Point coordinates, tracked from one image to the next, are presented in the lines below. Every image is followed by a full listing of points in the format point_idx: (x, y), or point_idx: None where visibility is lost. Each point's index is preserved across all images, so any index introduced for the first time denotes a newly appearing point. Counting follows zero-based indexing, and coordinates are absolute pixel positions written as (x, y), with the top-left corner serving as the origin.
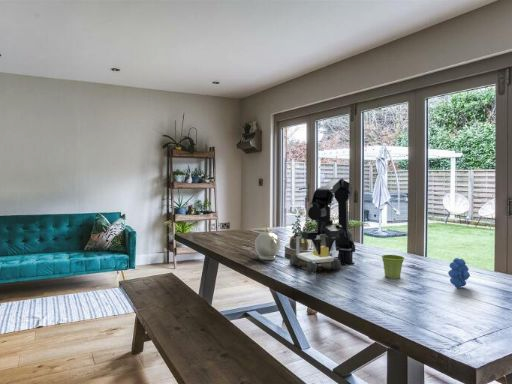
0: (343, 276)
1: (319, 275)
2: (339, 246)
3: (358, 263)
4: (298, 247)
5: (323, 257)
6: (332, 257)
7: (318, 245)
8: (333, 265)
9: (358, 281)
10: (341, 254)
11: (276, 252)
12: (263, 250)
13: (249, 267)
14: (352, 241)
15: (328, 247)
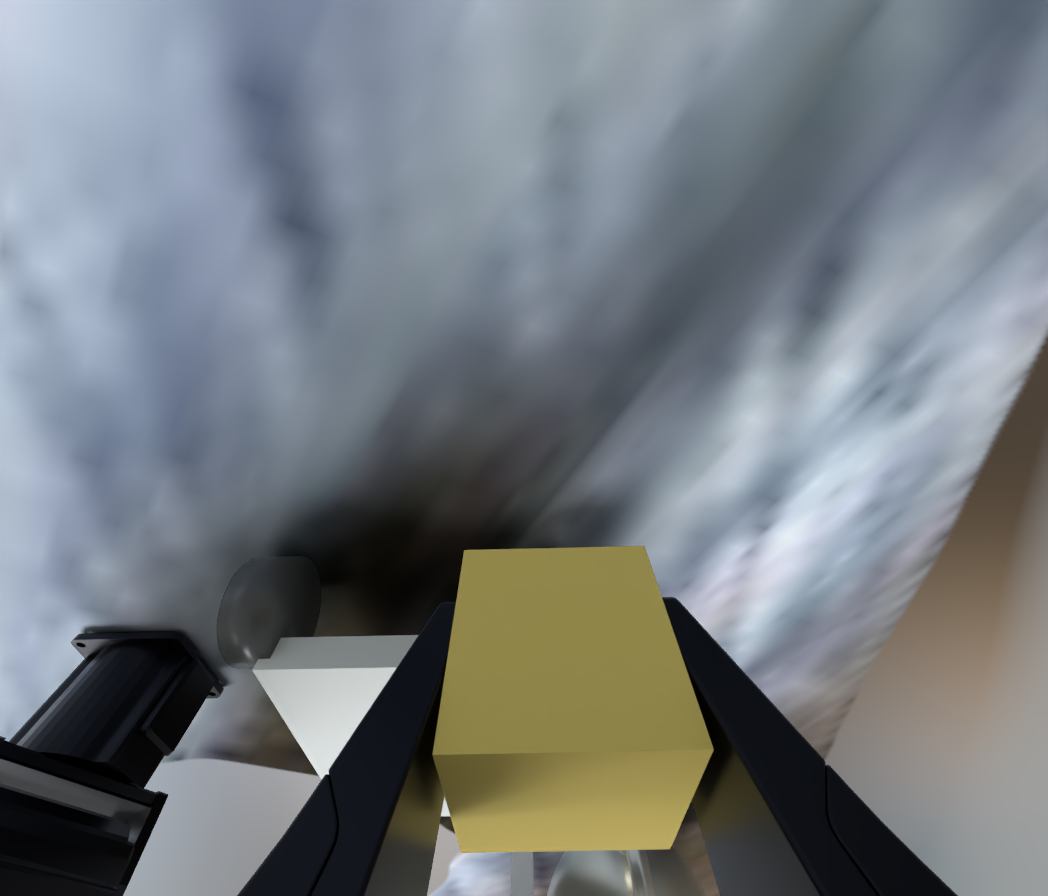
0: (315, 356)
1: (537, 471)
2: (95, 839)
3: (40, 635)
4: (520, 879)
5: (371, 701)
6: (275, 681)
7: (898, 857)
8: (304, 602)
9: (191, 48)
10: (139, 739)
11: (629, 850)
12: (689, 881)
13: (829, 742)
14: None
15: (440, 747)
